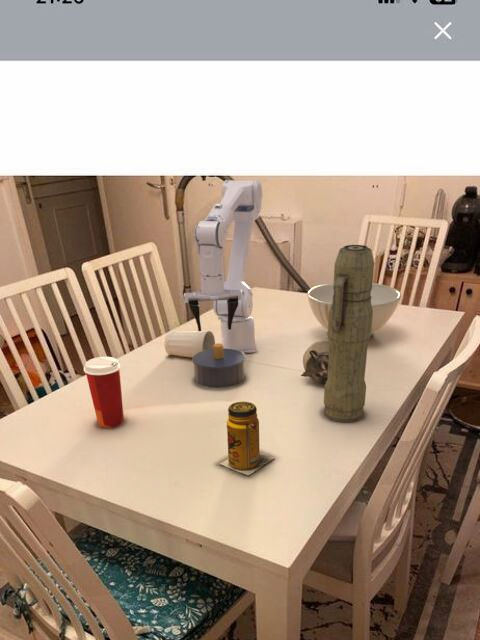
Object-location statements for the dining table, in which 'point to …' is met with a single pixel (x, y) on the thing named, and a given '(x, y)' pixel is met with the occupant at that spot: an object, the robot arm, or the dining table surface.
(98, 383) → the paper cup
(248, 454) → the condiment
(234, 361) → the lid
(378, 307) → the decorative bowl
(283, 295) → the dining table surface
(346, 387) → the thermos
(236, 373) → the tin
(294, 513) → the dining table surface
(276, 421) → the dining table surface
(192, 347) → the cup
